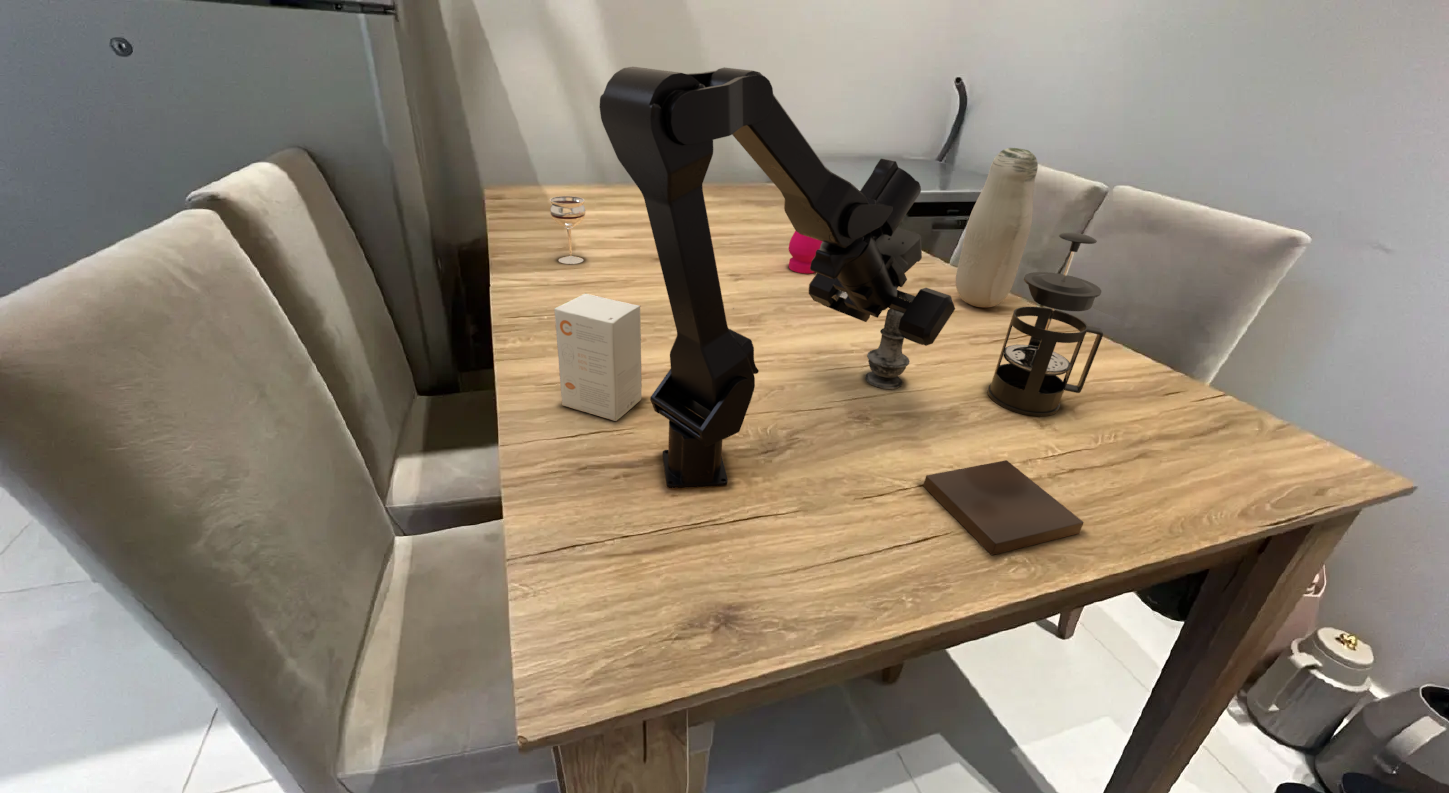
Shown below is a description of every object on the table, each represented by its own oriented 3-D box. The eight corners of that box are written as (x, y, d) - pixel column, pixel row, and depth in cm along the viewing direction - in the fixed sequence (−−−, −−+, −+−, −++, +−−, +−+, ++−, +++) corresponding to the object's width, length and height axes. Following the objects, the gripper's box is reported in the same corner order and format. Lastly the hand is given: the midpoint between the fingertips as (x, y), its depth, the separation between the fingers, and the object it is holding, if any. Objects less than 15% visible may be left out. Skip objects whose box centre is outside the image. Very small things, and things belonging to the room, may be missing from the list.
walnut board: (1079, 533, 63) (1084, 522, 62) (991, 555, 60) (996, 543, 59) (1003, 470, 72) (1006, 459, 71) (922, 486, 68) (925, 475, 68)
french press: (981, 405, 85) (1033, 237, 74) (982, 376, 93) (1029, 220, 82) (1075, 426, 82) (1145, 253, 70) (1069, 394, 90) (1130, 234, 78)
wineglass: (594, 259, 129) (592, 200, 123) (571, 267, 124) (567, 205, 118) (570, 253, 132) (566, 194, 126) (546, 260, 127) (541, 199, 121)
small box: (642, 400, 81) (642, 305, 74) (615, 423, 76) (613, 323, 69) (589, 384, 83) (584, 291, 77) (560, 405, 78) (552, 308, 72)
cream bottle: (1016, 311, 118) (1065, 153, 104) (973, 316, 114) (1018, 153, 101) (980, 293, 126) (1021, 144, 112) (938, 297, 122) (975, 144, 108)
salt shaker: (905, 392, 87) (924, 312, 81) (862, 386, 88) (878, 306, 82) (903, 374, 92) (921, 296, 86) (863, 368, 93) (877, 291, 87)
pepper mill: (780, 264, 134) (790, 166, 124) (808, 262, 137) (821, 166, 127) (797, 275, 128) (810, 173, 118) (827, 273, 131) (842, 173, 121)
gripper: (967, 229, 69) (989, 303, 81) (834, 195, 80) (871, 264, 92) (912, 312, 68) (943, 374, 80) (786, 265, 79) (829, 325, 92)
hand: (894, 329), depth 86 cm, fingers open, 9 cm apart
